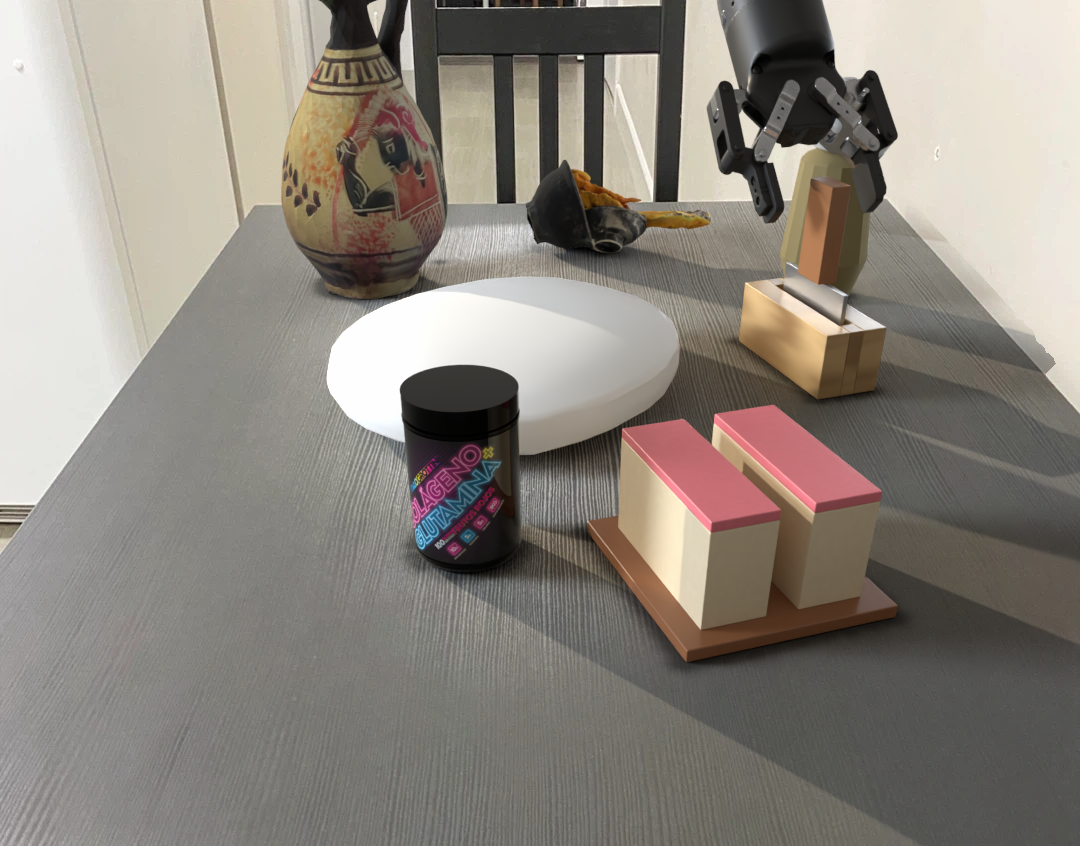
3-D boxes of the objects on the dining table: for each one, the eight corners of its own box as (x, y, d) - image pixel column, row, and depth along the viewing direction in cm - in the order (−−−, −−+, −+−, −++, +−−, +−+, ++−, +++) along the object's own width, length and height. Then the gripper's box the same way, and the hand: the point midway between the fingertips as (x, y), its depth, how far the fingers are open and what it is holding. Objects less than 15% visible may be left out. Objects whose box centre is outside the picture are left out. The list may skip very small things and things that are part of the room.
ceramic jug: (348, 324, 99) (299, -86, 80) (267, 282, 108) (205, -94, 89) (497, 284, 107) (484, -96, 88) (409, 248, 116) (381, -102, 97)
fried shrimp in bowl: (515, 188, 117) (674, 123, 115) (550, 291, 120) (706, 229, 118) (511, 173, 109) (683, 102, 106) (549, 284, 112) (717, 217, 109)
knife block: (738, 341, 95) (744, 282, 92) (791, 333, 96) (799, 275, 93) (817, 399, 85) (827, 336, 82) (875, 390, 86) (887, 327, 83)
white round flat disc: (561, 441, 68) (245, 364, 79) (566, 527, 73) (266, 443, 84) (739, 271, 85) (457, 226, 96) (734, 350, 90) (466, 299, 100)
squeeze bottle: (811, 275, 108) (841, 66, 97) (878, 295, 103) (918, 78, 92) (757, 292, 104) (781, 77, 93) (823, 314, 100) (858, 90, 88)
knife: (769, 347, 94) (791, 169, 85) (785, 344, 94) (809, 167, 85) (822, 386, 87) (853, 197, 78) (840, 383, 87) (873, 195, 78)
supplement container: (393, 544, 68) (376, 383, 62) (480, 511, 71) (473, 355, 65) (454, 590, 64) (443, 422, 58) (544, 553, 67) (543, 390, 61)
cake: (586, 531, 69) (588, 421, 65) (769, 498, 72) (783, 391, 68) (686, 663, 58) (697, 542, 54) (896, 617, 62) (924, 499, 57)
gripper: (706, -17, 79) (762, 191, 78) (877, -26, 82) (933, 174, 81) (671, 57, 86) (722, 249, 85) (830, 46, 90) (880, 230, 88)
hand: (825, 212), depth 83 cm, fingers open, 8 cm apart
